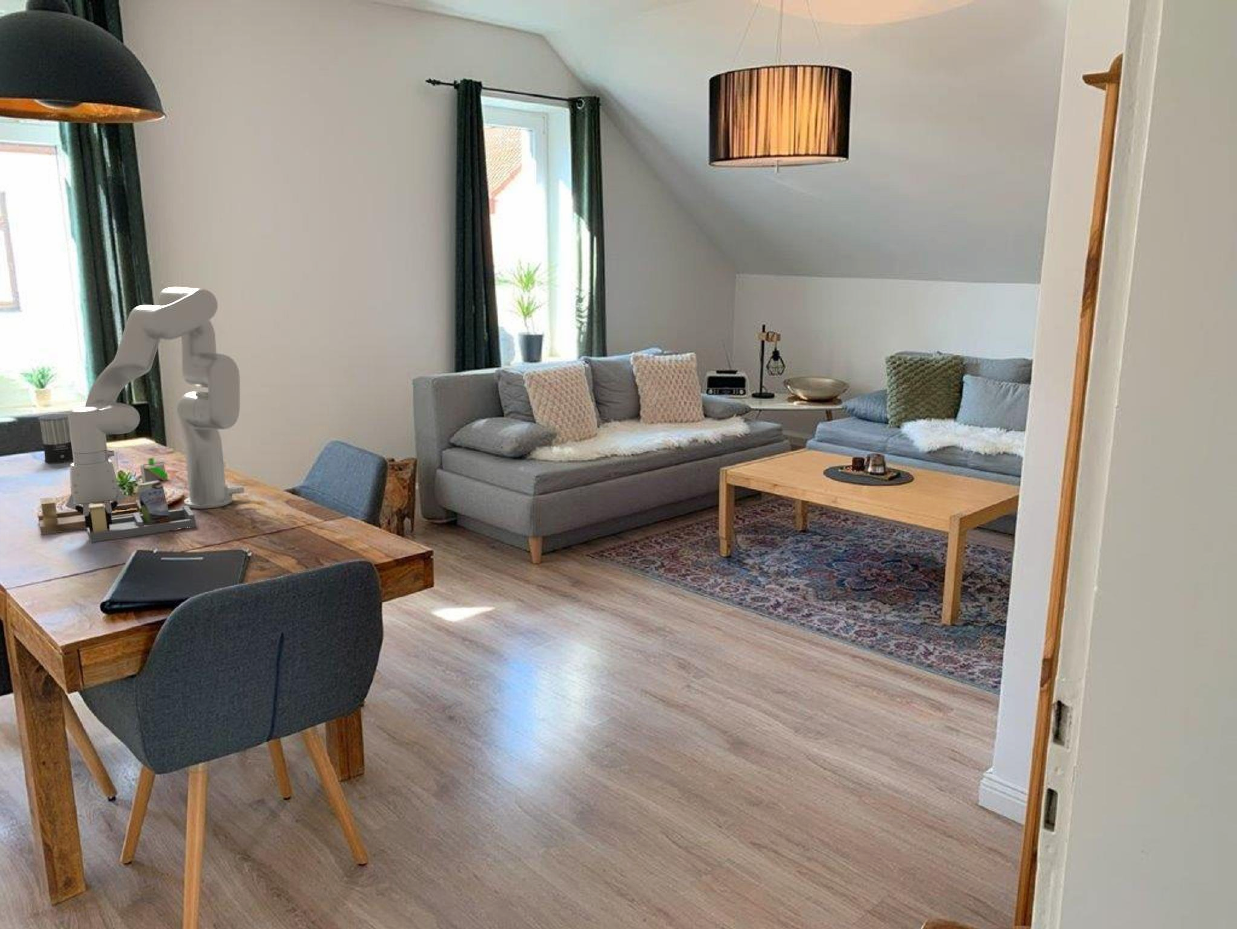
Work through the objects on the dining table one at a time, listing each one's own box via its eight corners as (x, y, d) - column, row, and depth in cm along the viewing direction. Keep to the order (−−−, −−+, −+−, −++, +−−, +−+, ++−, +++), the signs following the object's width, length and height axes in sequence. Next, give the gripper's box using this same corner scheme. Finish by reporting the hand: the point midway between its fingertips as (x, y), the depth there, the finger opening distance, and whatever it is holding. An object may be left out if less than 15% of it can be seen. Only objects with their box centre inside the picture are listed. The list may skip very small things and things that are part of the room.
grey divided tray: (188, 515, 255) (185, 490, 253) (196, 526, 245) (193, 500, 244) (86, 529, 242) (83, 503, 241) (91, 542, 232) (87, 514, 231)
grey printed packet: (160, 531, 242) (155, 485, 239) (135, 529, 243) (130, 483, 240) (176, 524, 248) (172, 479, 245) (152, 521, 249) (147, 477, 246)
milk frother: (52, 465, 307) (46, 420, 304) (28, 458, 316) (22, 414, 312) (96, 456, 319) (91, 413, 315) (72, 450, 327) (66, 408, 324)
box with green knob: (170, 481, 290) (167, 456, 288) (147, 486, 285) (144, 460, 283) (165, 479, 293) (162, 454, 291) (142, 483, 288) (139, 457, 286)
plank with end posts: (140, 508, 260) (137, 484, 259) (146, 520, 250) (143, 494, 249) (38, 522, 248) (35, 496, 246) (41, 534, 238) (37, 507, 236)
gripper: (126, 450, 241) (133, 520, 246) (51, 458, 233) (61, 529, 237) (129, 456, 235) (137, 527, 240) (53, 464, 227) (62, 537, 231)
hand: (99, 527), depth 238 cm, fingers closed on grey divided tray, 3 cm apart
